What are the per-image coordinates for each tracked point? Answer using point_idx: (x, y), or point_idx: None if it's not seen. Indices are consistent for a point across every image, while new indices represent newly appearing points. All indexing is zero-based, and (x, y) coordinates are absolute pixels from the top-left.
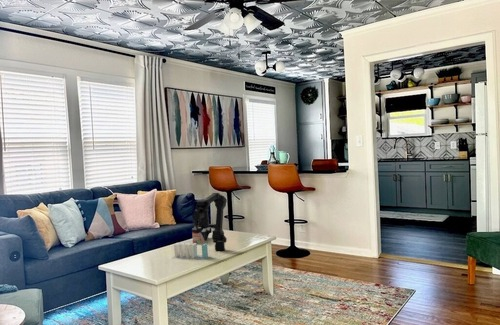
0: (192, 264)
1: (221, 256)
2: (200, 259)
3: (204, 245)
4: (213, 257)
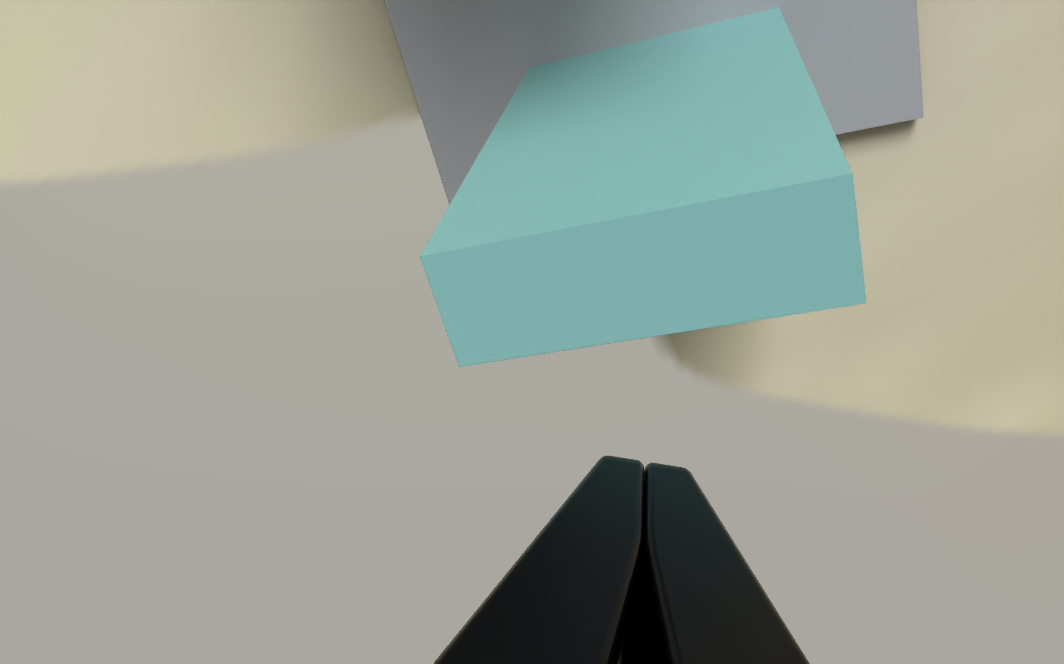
0: (28, 156)
1: (969, 414)
2: (414, 85)
3: (538, 343)
4: None
